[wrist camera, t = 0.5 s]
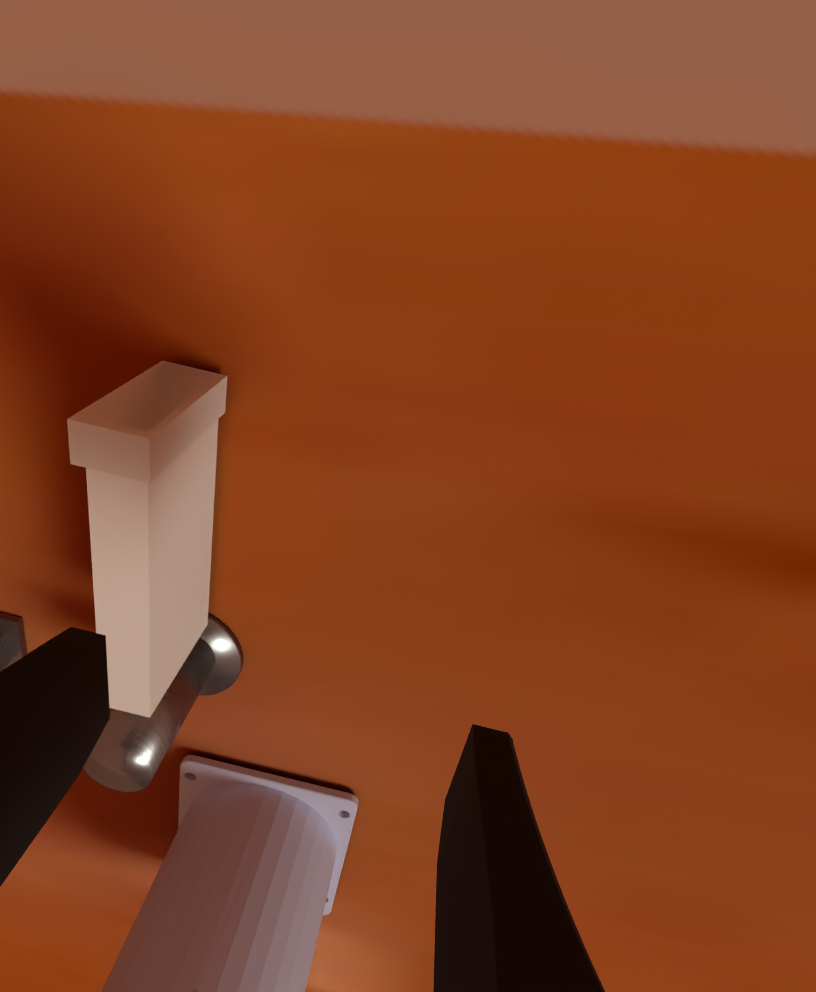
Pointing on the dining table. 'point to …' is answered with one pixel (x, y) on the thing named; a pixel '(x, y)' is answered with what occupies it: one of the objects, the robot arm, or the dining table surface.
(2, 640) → the latch block
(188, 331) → the dining table surface
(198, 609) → the lipped cream column
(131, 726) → the pivot post
